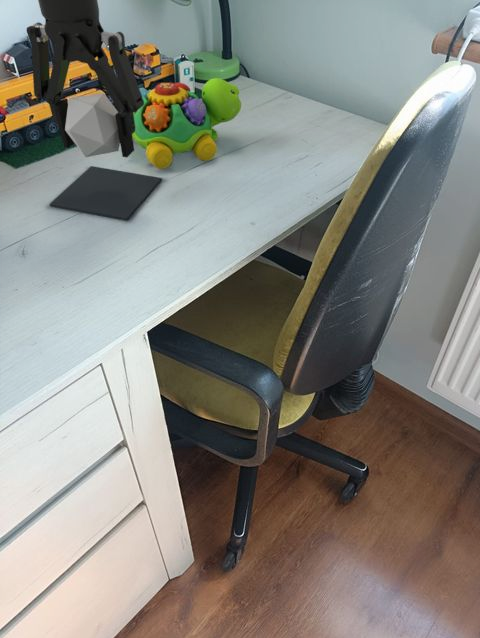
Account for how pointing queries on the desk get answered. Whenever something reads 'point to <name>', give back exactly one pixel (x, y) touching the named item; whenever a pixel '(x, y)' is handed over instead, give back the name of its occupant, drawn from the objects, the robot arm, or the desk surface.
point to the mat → (107, 193)
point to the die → (92, 124)
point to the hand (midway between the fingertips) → (99, 148)
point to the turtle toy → (183, 119)
